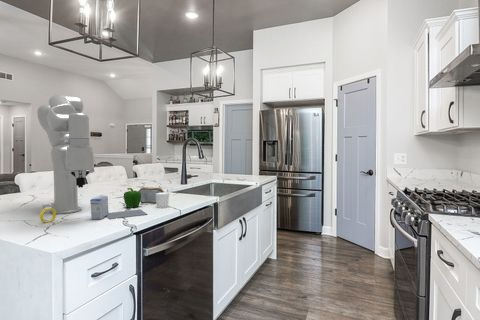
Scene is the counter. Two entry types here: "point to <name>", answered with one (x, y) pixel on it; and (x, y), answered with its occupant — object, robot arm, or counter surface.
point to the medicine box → (99, 207)
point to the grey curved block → (149, 194)
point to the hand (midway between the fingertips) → (80, 187)
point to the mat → (125, 214)
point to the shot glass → (162, 199)
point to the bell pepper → (132, 198)
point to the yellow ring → (43, 213)
